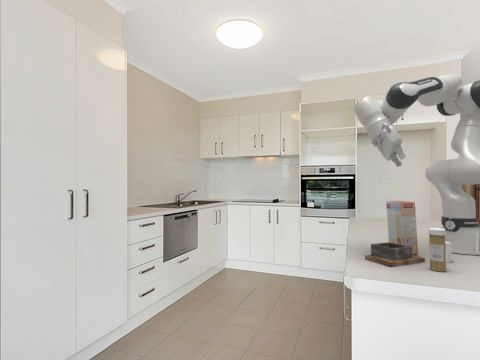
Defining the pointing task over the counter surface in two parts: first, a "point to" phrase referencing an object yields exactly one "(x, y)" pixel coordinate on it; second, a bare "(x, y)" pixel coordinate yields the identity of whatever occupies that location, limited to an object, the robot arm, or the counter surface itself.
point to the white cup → (448, 251)
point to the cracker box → (402, 224)
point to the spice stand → (392, 255)
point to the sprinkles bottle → (437, 249)
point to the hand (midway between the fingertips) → (401, 162)
